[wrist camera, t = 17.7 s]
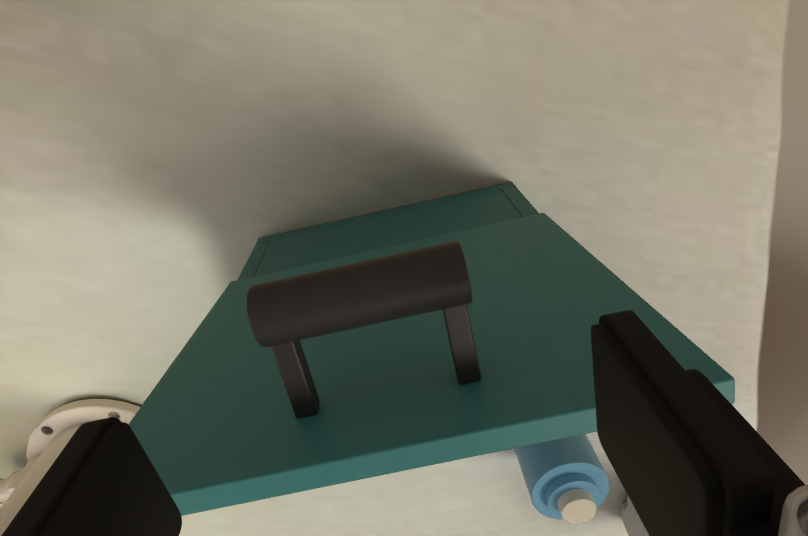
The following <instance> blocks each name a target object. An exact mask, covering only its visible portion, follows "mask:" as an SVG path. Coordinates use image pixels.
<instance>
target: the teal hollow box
mask: <svg viewBox="0 0 808 536" xmlns="http://www.w3.org/2000/svg"><path fill="white" fill-rule="evenodd" d="M536 214H539V213H538V212H537V210H536V209H535V208H534V207H533V206H532V205H531V204H530V202H529V201H528V200H527V199H526V198H525V197H524V196H523V194H522V193H521V192H520V191H519V190H518V189H517V187H516V186H515V185H514V184H513V182H509V183H505V184H500V185H496V186H491V187H487V188H483V189H478V190H474V191H469V192H465V193H460V194H456V195H451V196H447V197H442V198H438V199H433V200H429V201H424V202H420V203H415V204H411V205H407V206H402V207H398V208H393V209H389V210H384V211H380V212H375V213H371V214H366V215H362V216H357V217H353V218H348V219H344V220H339V221H335V222H330V223H326V224H322V225H317V226H313V227H308V228H304V229H299V230H295V231H290V232H286V233H281V234H277V235H272V236H268V237H263V238H259V239H258V241H257V243H256V245H255V247H254V249H253V251H252V253H251V255H250V257H249V259H248V261H247V263H246V265H245V267H244V269H243V271H242V272H241V274H240V276H239V278H238V280H241V279H246V278H250V277H255V276H259V275H264V274H268V273H273V272H277V271H282V270H287V269H291V268H296V267H300V266H305V265H309V264H314V263H318V262H323V261H327V260H332V259H336V258H341V257H345V256H350V255H354V254H359V253H364V252H368V251H373V250H377V249H382V248H386V247H391V246H395V245H400V244H404V243H409V242H413V241H418V240H422V239H427V238H431V237H436V236H441V235H445V234H450V233H454V232H459V231H463V230H468V229H472V228H477V227H481V226H486V225H490V224H495V223H499V222H504V221H508V220H513V219H518V218H522V217H527V216H531V215H536Z"/></svg>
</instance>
